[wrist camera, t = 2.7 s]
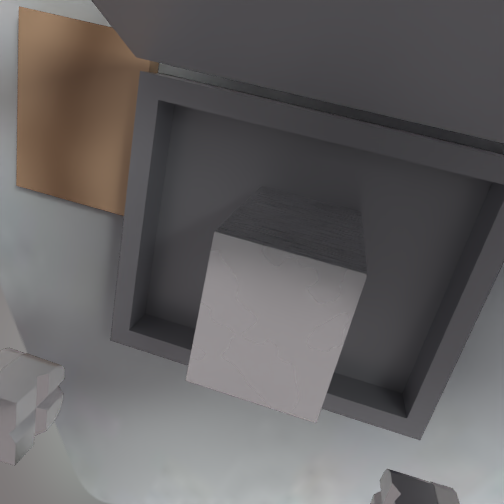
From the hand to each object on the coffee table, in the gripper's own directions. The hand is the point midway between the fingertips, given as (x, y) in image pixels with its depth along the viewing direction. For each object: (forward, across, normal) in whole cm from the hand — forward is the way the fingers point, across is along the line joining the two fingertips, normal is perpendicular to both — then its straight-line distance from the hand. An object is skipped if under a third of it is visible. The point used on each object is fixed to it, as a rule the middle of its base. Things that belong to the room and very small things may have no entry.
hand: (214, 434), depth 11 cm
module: (+13, -1, 0) cm, 13 cm away
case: (+14, -1, 0) cm, 14 cm away
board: (+14, +12, -4) cm, 19 cm away
